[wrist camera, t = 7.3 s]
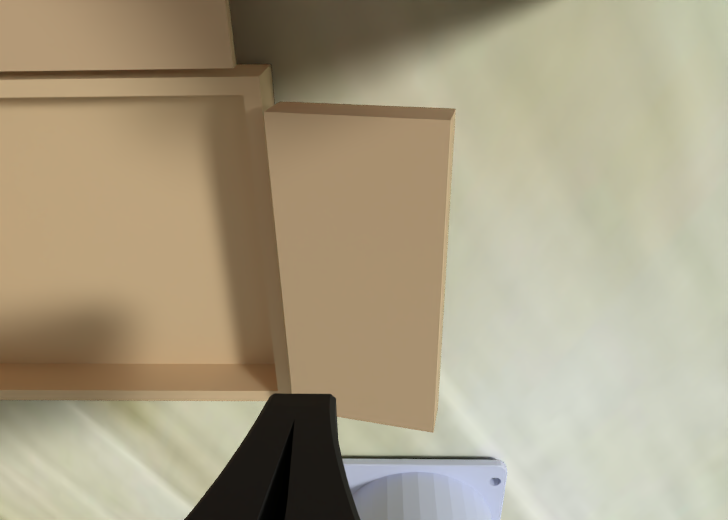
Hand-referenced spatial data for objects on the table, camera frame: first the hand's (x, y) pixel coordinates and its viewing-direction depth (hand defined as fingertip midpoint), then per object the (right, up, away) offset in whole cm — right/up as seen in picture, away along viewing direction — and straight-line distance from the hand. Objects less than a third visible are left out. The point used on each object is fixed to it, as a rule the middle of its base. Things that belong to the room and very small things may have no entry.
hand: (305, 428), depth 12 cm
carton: (-10, +6, +8) cm, 14 cm away
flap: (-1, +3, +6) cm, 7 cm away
